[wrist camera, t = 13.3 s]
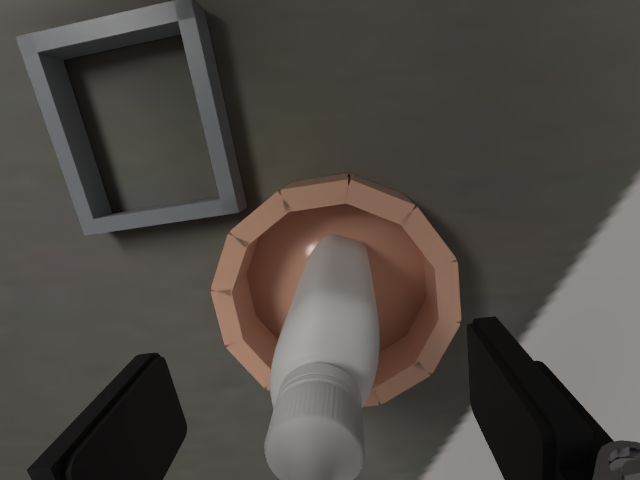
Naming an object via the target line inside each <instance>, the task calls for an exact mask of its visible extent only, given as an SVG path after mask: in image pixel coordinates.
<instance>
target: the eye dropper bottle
mask: <svg viewBox="0 0 640 480" xmlns="http://www.w3.org/2000/svg"><path fill="white" fill-rule="evenodd" d="M378 360H379V322H378V314H377V307H376V300H375V294H374V288H373V282H372V276H371V271H370V265H369V259H368V254H367V249H366V247H365V245H364V244H363V243H361V242H360V241H357V240H354V239H351V238H347V237H343V236H339V235H335V234H329V235H327V236H325V237H323V238H322V239H321V241H320V242H319V243H318V244H317V245H316V247H315V248H314V250H313V251H312V253H311V255H310V256H309V258H308V260H307V262H306V265H305V267H304V269H303V272H302V275H301V278H300V281H299V283H298V286H297V289H296V292H295V294H294V297H293V300H292V303H291V306H290V308H289V311H288V314H287V317H286V319H285V322H284V325H283V328H282V331H281V333H280V336H279V339H278V342H277V345H276V349H275V352H274V356H273V361H272V367H271V375H270V392H271V400H272V405H273V409H274V411H273V414H272V418H271V421H270V425H269V428H268V432H267V436H266V439H265V445H264V447H265V448H264V451H265V456H266V460H267V463H268V465H269V467H270V469H271V470H272V472H273V473H274V474H275V475H276V476H277V477H278V478H279V479H280V480H354V479H355V478H356V477H357V475H358V474H359V472H360V471H361V468H362V467H363V463H364V458H365V456H364V454H365V452H364V434H363V415H362V408H363V406H364V405H365V403H366V401H367V399H368V397H369V394H370V392H371V389H372V387H373V383H374V380H375V376H376V371H377V366H378Z"/></svg>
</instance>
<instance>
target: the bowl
mask: <svg viewBox="0 0 640 480" xmlns="http://www.w3.org/2000/svg"><path fill="white" fill-rule="evenodd" d="M329 234H335V235H339V236H343V237H347V238H351V239H354V240H357V241H360V242H361V243H363V244H364V245H365V247H366V249H367V254H368V259H369V265H370V271H371V276H372V282H373V288H374V294H375V300H376V307H377V314H378V322H379V360H378V366H377V371H376V376H375V380H374V383H373V387H372V389H371V392H370V394H369V397H368V399H367V401H366V403H365V405H364V406H363V407H367V406H379V402H380V403H381V404H384V403H385V402H387V401H389V400H391V399H392V398H394V397H396V396H397V395H399V394H401V393H402V392H404V391H406V390H407V389H409V388H411V387H412V386H414V385H416V384H417V383H419V382H421V381H423V380H424V379H426V378H428V377H429V376H430V373H432V374H433V372H434V370H435V369H436V367H437V365H438V363H439V361H440V360H441V358H442V356H443V354H444V353H445V351H446V349H447V347H448V346H449V344H450V342H451V340H452V339H453V337H454V335H455V333H456V332H457V330H458V328H459V326H460V322H459V321H461V306H460V290H459V274H458V261H457V260H456V257H455V256H454V255H453V253H452V252H451V251H450V249H449V248H448V247H447V245H446V244H445V243H444V241H443V240H442V239H441V237H440V236H439V235H438V233H437V232H436V231H435V229H434V228H433V227H432V225H431V224H430V223H429V221H428V220H427V219H426V217H425V216H424V215H423V213H422V212H421V211H420V209H419V208H418V207H417V206H416V205H415V204H414V203H413V202H411V201H410V200H409V199H408V198H407V197H406V196H404V195H403V194H401V193H399V192H396V191H394V190H391V189H389V188H386V187H384V186H381V185H379V184H376V183H374V182H371V181H369V180H366V179H364V178H361V177H358V176H356V175H353V174H351V173H350V176H349V177H348V173H345V174H338V175H332V176H326V177H319V178H313V179H307V180H300V181H294V182H292V183H289V184H288V185H286V186H285V187H283V188H282V189H280V190H279V191H277V192H276V193H275V194H273V195H272V196H271V197H270V198H269V199H268V200H266V201H265V202H264V203H263V204H262V205H260V206H259V207H258V208H257V209H256V210H254V211H253V212H252V213H251V214H250V215H248V216H247V217H246V218H245V219H244V220H243V221H241V222H240V223H239V224H238V225H237V226H235V227H234V228H233V229H232V230H231V231H230V233H228V235H227V238H226V241H225V245H224V248H223V251H222V254H221V257H220V261H219V264H218V267H217V270H216V273H215V277H214V280H213V283H212V286H211V289H212V291H211V295H212V299H213V303H214V306H215V310H216V314H217V318H218V322H219V326H220V329H221V333H222V337H223V341H224V345H227V347H226V348H227V349H228V350H229V351H230V352H231V353H232V355H233V356H234V357H235V358H236V359H237V360H238V361H239V362H240V363H241V364H242V365H243V366H244V367H245V368H246V369H247V370H248V371H249V373H250V374H251V375H252V376H253V377H254V378H255V379H256V380H257V381H258V382H259V383H260V384H261V385H262V386H263V387H264V388H265V387H266V386H268V387H267V390H269V391H270V375H271V367H272V361H273V356H274V352H275V349H276V345H277V342H278V339H279V336H280V333H281V331H282V328H283V325H284V322H285V319H286V317H287V314H288V311H289V308H290V306H291V303H292V300H293V297H294V294H295V292H296V289H297V286H298V283H299V281H300V278H301V275H302V272H303V269H304V267H305V265H306V262H307V260H308V258H309V256H310V255H311V253H312V251H313V250H314V248H315V247H316V245H317V244H318V243H319V242H320V241H321V239H322V238H323V237H325V236H327V235H329ZM378 401H379V402H378Z"/></svg>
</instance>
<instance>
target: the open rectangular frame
mask: <svg viewBox="0 0 640 480" xmlns="http://www.w3.org/2000/svg"><path fill="white" fill-rule="evenodd" d="M176 35H181V36H182V40H183V44H184V49H185V53H186V57H187V61H188V66H189V70H190V74H191V78H192V83H193V87H194V91H195V95H196V100H197V104H198V108H199V112H200V117H201V121H202V125H203V129H204V133H205V138H206V142H207V146H208V150H209V155H210V159H211V163H212V167H213V172H214V176H215V180H216V184H217V189H218V193H219V197H216V198H209V199H203V200H196V201H190V202H184V203H177V204H171V205H164V206H158V207H151V208H145V209H139V210H132V211H126V212H119V213H113V214H112V211H111V208H110V205H109V202H108V199H107V195H106V192H105V189H104V186H103V183H102V180H101V177H100V174H99V170H98V167H97V164H96V161H95V158H94V155H93V152H92V149H91V145H90V142H89V139H88V136H87V133H86V130H85V127H84V123H83V120H82V117H81V114H80V111H79V108H78V105H77V102H76V98H75V95H74V92H73V89H72V86H71V83H70V80H69V76H68V73H67V70H66V67H65V64H64V61H63V60H66V59H71V58H75V57H80V56H84V55H89V54H94V53H98V52H103V51H107V50H112V49H117V48H121V47H126V46H130V45H135V44H140V43H144V42H149V41H153V40H158V39H163V38H167V37H172V36H176ZM16 39H17V42H18V45H19V48H20V51H21V53H22V56H23V59H24V62H25V65H26V68H27V71H28V74H29V77H30V79H31V82H32V85H33V88H34V91H35V94H36V97H37V100H38V103H39V106H40V108H41V111H42V114H43V117H44V120H45V123H46V126H47V129H48V132H49V134H50V137H51V140H52V143H53V146H54V149H55V152H56V155H57V158H58V160H59V163H60V166H61V169H62V172H63V175H64V178H65V181H66V184H67V186H68V189H69V192H70V195H71V198H72V201H73V204H74V207H75V210H76V212H77V215H78V218H79V221H80V224H81V227H82V230H83V233H84V236H86V235H93V234H99V233H106V232H113V231H120V230H126V229H133V228H140V227H146V226H153V225H160V224H167V223H173V222H180V221H187V220H194V219H200V218H207V217H214V216H220V215H227V214H234V213H239V212H241V211H243V210H244V209H246V208H247V204H246V199H245V195H244V190H243V185H242V181H241V176H240V172H239V167H238V162H237V158H236V153H235V149H234V144H233V139H232V135H231V130H230V125H229V121H228V116H227V112H226V107H225V102H224V98H223V93H222V89H221V84H220V79H219V75H218V70H217V65H216V61H215V56H214V52H213V47H212V42H211V38H210V33H209V29H208V24H207V19H206V15H205V10H204V9H203V8H202V7H201V6H200V5H199V4H198V3H197V2H196V1H195V0H173V1H169V2H164V3H160V4H156V5H151V6H147V7H143V8H138V9H134V10H130V11H125V12H121V13H117V14H112V15H108V16H104V17H99V18H95V19H91V20H86V21H82V22H78V23H73V24H69V25H65V26H60V27H56V28H52V29H47V30H43V31H39V32H34V33H30V34H26V35H21V36H17V37H16Z"/></svg>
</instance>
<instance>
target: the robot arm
mask: <svg viewBox="0 0 640 480" xmlns="http://www.w3.org/2000/svg"><path fill="white" fill-rule="evenodd" d="M467 342H468V362H469V382H470V401H471V407H472V410H473V413H474V416H475V418H476V420H477V422H478V424H479V426H480V429H481V431H482V432H483V435H484V437H485V439H486V441H487V443H488V445H489V448H490V449H491V451H492V454H493V456H494V458H495V460H496V462H497V464H498V466H499V468H500V471H501V473H502V475H503V477H504V479H505V480H640V443H638V442H631V441H616V442H614V441H613V440H612V439H611V438H610V436H609V435H608V434H607V433H606V432H605V431H604V430H603V429H602V427H601V426H600V425H599V424H598V423H597V422H596V421H595V420H594V419H593V417H592V416H591V415H590V414H589V413H588V412H587V411H586V410H585V409H584V407H583V406H582V405H581V404H580V403H579V402H578V401H577V400H576V398H575V397H574V396H573V395H572V394H571V393H570V392H569V391H568V389H567V388H566V387H565V386H564V385H563V384H562V383H561V382H560V381H559V379H558V378H557V377H556V376H555V375H554V374H553V373H552V372H551V371H550V369H549V368H548V367H547V366H546V365H545V364H544V363H543V362H540V361H533V360H532V358H531V357H530V356H529V355H528V354H527V353H526V351H525V350H524V349H523V348H522V347H521V346H520V344H519V343H518V342H517V341H516V340H515V339H514V337H513V336H512V335H511V334H510V333H509V332H508V330H507V329H506V328H505V327H504V326H503V325H502V323H501V322H500V321H499V320H498V319H497V318H496V317H485V318H475V319H474V320H473V324H468V325H467ZM186 433H187V424H186V420H185V417H184V414H183V411H182V408H181V405H180V402H179V399H178V396H177V393H176V390H175V387H174V384H173V381H172V378H171V375H170V372H169V369H168V366H167V363H166V360H165V359H164V358H163V357H161V356H160V355H159V354H158V353H148V354H140V355H137V356H136V357H134V358H133V360H132V361H131V362H130V363H129V364H128V365H127V366H126V367H125V368H124V369H123V370H122V371H121V372H120V373H119V374H118V375H117V376H116V377H115V378H114V379H113V380H112V381H111V383H110V384H109V385H108V386H107V387H106V388H105V389H104V390H103V391H102V392H101V393H100V394H99V395H98V396H97V397H96V398H95V399H94V400H93V401H92V402H91V403H90V404H89V406H88V407H87V408H86V409H85V410H84V411H83V412H82V413H81V414H80V415H79V416H78V417H77V418H76V419H75V420H74V421H73V422H72V423H71V424H70V425H69V426H68V427H67V429H66V430H65V431H64V432H63V433H62V434H61V435H60V436H59V437H58V438H57V439H56V440H55V441H54V442H53V443H52V444H51V445H50V446H49V447H48V448H47V449H46V450H45V452H44V453H43V454H42V455H41V456H40V457H39V458H38V459H37V460H36V461H35V462H34V463H33V464H32V465H31V466H30V467H29V468H28V469H27V471H28V473H29V475H30V477H31V479H32V480H163V478H164V476H165V475H166V473H167V471H168V469H169V467H170V465H171V463H172V461H173V459H174V458H175V456H176V454H177V452H178V450H179V448H180V446H181V444H182V442H183V441H184V439H185V436H186Z"/></svg>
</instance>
